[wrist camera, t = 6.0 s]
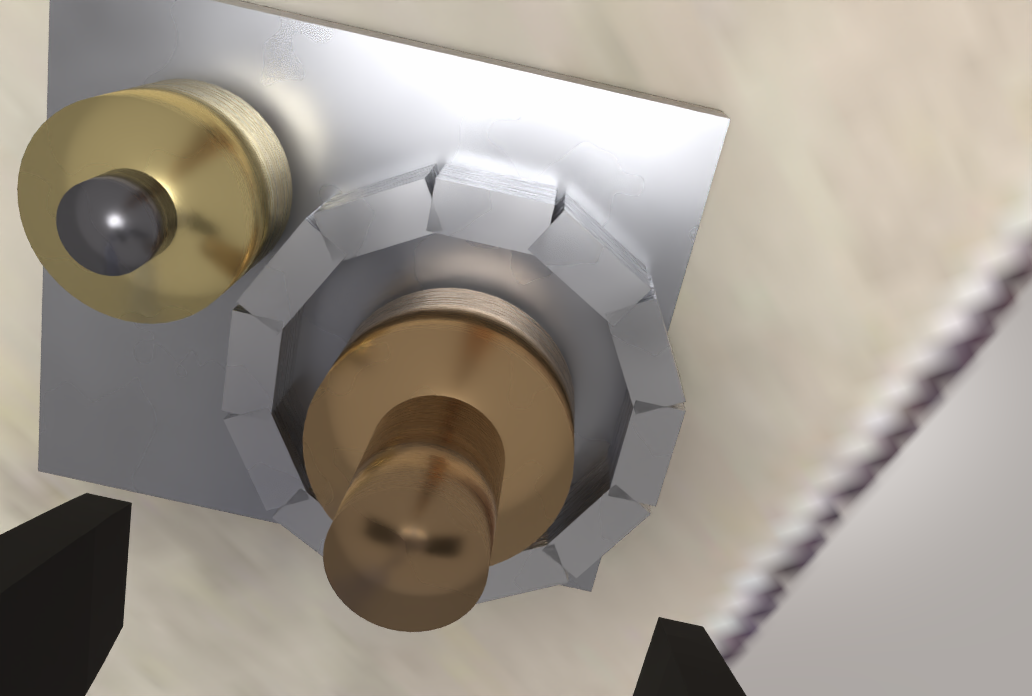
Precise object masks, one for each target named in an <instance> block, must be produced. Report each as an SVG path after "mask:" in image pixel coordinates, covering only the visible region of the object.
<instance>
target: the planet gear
mask: <svg viewBox="0 0 1032 696" xmlns="http://www.w3.org/2000/svg"><path fill="white" fill-rule="evenodd" d="M574 424H575V401H574V388H573V384H572V379H571V375H570V372H569V369H568V366H567V363H566V361H565V359H564V357H563V355H562V353H561V351H560V349H559V348H558V346H557V345H556V343H555V342H554V340H553V339H552V338H551V336H550V335H549V334H548V333H547V332H546V331H545V329H544V328H543V327H542V326H541V325H540V324H539V323H538V322H537V321H535V320H534V319H533V318H532V317H531V316H529V315H528V314H527V313H526V312H524V311H522V310H521V309H519V308H518V307H516V306H515V305H513V304H511V303H509V302H507V301H505V300H503V299H501V298H498V297H496V296H493V295H490V294H487V293H484V292H480V291H475V290H470V289H462V288H433V289H427V290H422V291H417V292H414V293H411V294H407V295H404V296H401V297H399V298H397V299H395V300H393V301H391V302H389V303H387V304H386V305H384V306H382V307H381V308H379V309H378V310H376V311H375V312H374V313H373V314H371V315H370V316H369V317H368V318H367V319H366V320H365V321H363V323H362V324H361V325H360V326H359V327H358V328H357V330H356V331H355V332H354V333H353V335H352V336H351V338H350V339H349V341H348V343H347V344H346V346H345V347H344V349H343V350H342V352H341V353H340V355H339V357H338V358H337V360H336V361H335V363H334V364H333V366H332V367H331V369H330V370H329V372H328V374H327V375H326V377H325V378H324V380H323V381H322V383H321V384H320V386H319V388H318V389H317V391H316V392H315V394H314V397H313V399H312V401H311V403H310V406H309V408H308V412H307V416H306V419H305V423H304V431H303V457H304V462H305V468H306V472H307V475H308V478H309V482H310V485H311V487H312V489H313V491H314V493H315V495H316V497H317V500H318V501H319V503H320V504H321V506H322V507H323V509H324V511H325V512H326V514H327V515H328V516H329V517H330V518H331V520H332V521H333V522H332V524H331V526H330V528H329V530H328V533H327V535H326V539H325V542H324V549H323V562H324V567H325V572H326V575H327V578H328V580H329V582H330V584H331V586H332V588H333V590H334V591H335V593H336V594H337V596H338V597H339V598H340V599H341V600H342V602H343V603H344V604H345V605H346V606H347V607H348V608H350V609H351V610H352V611H353V612H355V613H356V614H357V615H359V616H360V617H362V618H364V619H365V620H367V621H369V622H371V623H374V624H376V625H378V626H381V627H384V628H388V629H392V630H397V631H406V632H421V631H429V630H433V629H437V628H441V627H444V626H446V625H449V624H451V623H453V622H455V621H456V620H458V619H460V618H461V617H462V616H464V615H465V614H466V613H468V612H469V611H470V610H471V609H472V608H473V607H474V605H475V604H476V603H477V601H478V600H479V598H480V597H481V595H482V593H483V591H484V588H485V586H486V582H487V578H488V572H489V566H493V565H495V564H498V563H500V562H503V561H505V560H508V559H509V558H511V557H513V556H515V555H517V554H519V553H520V552H522V551H523V550H525V549H526V548H527V547H529V546H530V545H532V544H533V543H534V542H535V541H536V540H537V539H538V538H539V537H541V536H542V535H543V534H544V533H545V532H546V530H547V529H548V528H549V527H550V525H551V524H552V523H553V522H554V520H555V519H556V517H557V516H558V514H559V512H560V510H561V509H562V507H563V505H564V503H565V500H566V498H567V495H568V493H569V489H570V485H571V481H572V477H573V466H574Z"/></svg>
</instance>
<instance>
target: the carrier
mask: <svg viewBox="0 0 1032 696" xmlns="http://www.w3.org/2000/svg"><path fill="white" fill-rule="evenodd" d="M729 122H730V118H729V117H728V116H727V115H725V114H724V113H723V112H722V111H720V110H716V109H711V108H707V107H703V106H698V105H694V104H690V103H685V102H681V101H676V100H672V99H668V98H663V97H659V96H655V95H650V94H646V93H641V92H637V91H633V90H628V89H624V88H620V87H615V86H611V85H607V84H602V83H598V82H593V81H589V80H585V79H580V78H576V77H572V76H567V75H563V74H558V73H554V72H550V71H545V70H541V69H537V68H532V67H528V66H524V65H519V64H515V63H510V62H506V61H502V60H497V59H493V58H489V57H484V56H480V55H475V54H471V53H467V52H462V51H458V50H454V49H449V48H445V47H441V46H436V45H432V44H427V43H423V42H419V41H414V40H410V39H406V38H401V37H397V36H392V35H388V34H384V33H379V32H375V31H371V30H366V29H362V28H357V27H353V26H349V25H344V24H340V23H336V22H331V21H327V20H323V19H318V18H314V17H309V16H305V15H301V14H296V13H292V12H288V11H283V10H279V9H274V8H270V7H266V6H261V5H257V4H253V3H248V2H244V1H240V0H50V11H49V52H48V93H47V121H46V122H44V123H43V124H42V126H41V127H40V128H39V129H38V131H37V132H36V133H35V134H34V136H33V137H32V139H31V141H30V143H29V144H28V146H27V148H26V151H25V153H24V156H23V159H22V162H21V166H20V171H19V176H18V188H17V190H18V205H19V211H20V216H21V221H22V224H23V227H24V230H25V233H26V236H27V238H28V240H29V242H30V245H31V247H32V249H33V250H34V252H35V254H36V256H37V257H38V259H39V261H40V262H41V263H42V265H43V297H42V338H41V379H40V419H39V460H38V471H41V472H45V473H50V474H54V475H59V476H64V477H68V478H73V479H77V480H82V481H86V482H91V483H96V484H100V485H105V486H109V487H114V488H119V489H123V490H128V491H132V492H137V493H141V494H146V495H151V496H155V497H160V498H164V499H169V500H174V501H178V502H183V503H187V504H192V505H196V506H201V507H206V508H210V509H215V510H219V511H224V512H229V513H233V514H238V515H242V516H247V517H251V518H256V519H261V520H265V521H270V522H274V523H279V524H281V525H282V526H284V527H285V528H286V529H288V530H289V531H290V532H291V533H293V534H294V535H295V536H297V537H298V538H299V539H301V540H302V541H303V542H305V543H306V544H307V545H309V546H310V547H311V548H312V549H314V550H315V551H316V552H318V553H319V554H320V555H322V556H323V549H324V542H325V539H326V535H327V533H328V530H329V528H330V526H331V524H332V522H333V521H332V520H331V518H330V517H329V516H328V515H327V514H326V512H325V511H324V509H323V507H322V506H321V504H320V503H319V501H318V500H317V497H316V495H315V493H314V491H313V489H312V487H311V485H310V482H309V478H308V475H307V472H306V468H305V462H304V457H303V431H304V423H305V419H306V416H307V412H308V408H309V406H310V403H311V401H312V399H313V397H314V394H315V392H316V391H317V389H318V388H319V386H320V384H321V383H322V381H323V380H324V378H325V377H326V375H327V374H328V372H329V370H330V369H331V367H332V366H333V364H334V363H335V361H336V360H337V358H338V357H339V355H340V353H341V352H342V350H343V349H344V347H345V346H346V344H347V343H348V341H349V339H350V338H351V336H352V335H353V333H354V332H355V331H356V330H357V328H358V327H359V326H360V325H361V324H362V323H363V321H365V320H366V319H367V318H368V317H369V316H370V315H371V314H373V313H374V312H375V311H376V310H378V309H379V308H381V307H382V306H384V305H386V304H387V303H389V302H391V301H393V300H395V299H397V298H399V297H401V296H404V295H407V294H411V293H414V292H417V291H422V290H427V289H433V288H462V289H470V290H475V291H480V292H484V293H487V294H490V295H493V296H496V297H498V298H501V299H503V300H505V301H507V302H509V303H511V304H513V305H515V306H516V307H518V308H519V309H521V310H522V311H524V312H526V313H527V314H528V315H529V316H531V317H532V318H533V319H534V320H535V321H537V322H538V323H539V324H540V325H541V326H542V327H543V328H544V329H545V331H546V332H547V333H548V334H549V335H550V336H551V338H552V339H553V340H554V342H555V343H556V345H557V346H558V348H559V349H560V351H561V353H562V355H563V357H564V359H565V361H566V363H567V366H568V369H569V372H570V375H571V379H572V384H573V388H574V401H575V424H574V466H573V477H572V481H571V485H570V489H569V493H568V495H567V498H566V500H565V503H564V505H563V507H562V509H561V510H560V512H559V514H558V516H557V517H556V519H555V520H554V522H553V523H552V524H551V525H550V527H549V528H548V529H547V530H546V532H545V533H544V534H543V535H542V536H541V537H539V538H538V539H537V540H536V541H535V542H534V543H533V544H532V545H530V546H529V547H527V548H526V549H525V550H523V551H522V552H520V553H519V554H517V555H515V556H513V557H511V558H509V559H508V560H505V561H503V562H500V563H498V564H495V565H493V566H489V572H488V578H487V582H486V586H485V588H484V591H483V593H482V595H481V597H480V598H479V600H478V601H477V603H482V602H486V601H490V600H495V599H499V598H503V597H508V596H512V595H516V594H521V593H525V592H529V591H533V590H538V589H542V588H546V587H551V586H555V585H563V586H568V587H572V588H577V589H582V590H586V591H591V590H592V587H593V583H594V580H595V577H596V573H597V570H598V566H599V563H600V560H601V557H602V556H603V555H604V554H605V553H606V552H607V551H608V550H610V549H611V548H612V547H613V546H614V545H615V544H617V543H618V542H619V541H620V540H621V539H622V538H623V537H625V536H626V535H627V534H628V533H629V532H630V531H631V530H633V529H634V528H635V527H636V526H637V525H638V524H640V523H641V522H642V521H643V520H644V519H645V518H646V517H648V516H649V515H650V514H651V513H650V505H652V506H656V504H657V501H658V497H659V494H660V491H661V488H662V485H663V481H664V478H665V475H666V472H667V469H668V465H669V462H670V459H671V456H672V453H673V450H674V446H675V443H676V440H677V437H678V434H679V430H680V427H681V424H682V421H683V418H684V414H685V407H684V403H683V402H686V401H685V397H684V393H683V389H682V385H681V381H680V377H679V373H678V369H677V366H676V362H675V359H674V355H673V352H672V348H671V345H670V341H669V337H668V334H667V332H668V329H669V326H670V322H671V319H672V316H673V312H674V309H675V305H676V302H677V299H678V295H679V292H680V288H681V285H682V282H683V278H684V275H685V271H686V268H687V265H688V261H689V258H690V254H691V251H692V248H693V244H694V241H695V238H696V234H697V231H698V227H699V224H700V221H701V217H702V214H703V210H704V207H705V204H706V200H707V197H708V193H709V190H710V187H711V183H712V180H713V176H714V173H715V170H716V166H717V163H718V159H719V156H720V153H721V149H722V146H723V143H724V139H725V136H726V132H727V129H728V126H729ZM477 603H476V604H477Z"/></svg>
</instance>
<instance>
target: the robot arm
mask: <svg viewBox="0 0 1032 696" xmlns="http://www.w3.org/2000/svg"><path fill="white" fill-rule="evenodd" d="M131 505H132V503H130V502H126V501H121V500H116V499H112V498H107V497H103V496H98V495H93V494H89V493H86V494H83V495H81V496H79V497H77V498H74V499H72V500H70V501H68V502H66V503H64V504H62V505H60V506H57V507H55V508H53V509H51V510H49V511H47V512H45V513H43V514H41V515H39V516H37V517H35V518H33V519H31V520H29V521H27V522H25V523H23V524H21V525H19V526H17V527H15V528H13V529H11V530H9V531H7V532H5V533H3V534H1V535H0V696H85V695H86V693H87V692H88V690H89V688H90V686H91V684H92V683H93V681H94V679H95V677H96V676H97V674H98V672H99V670H100V668H101V667H102V665H103V663H104V661H105V659H106V657H107V656H108V654H109V652H110V650H111V648H112V646H113V644H114V642H115V640H116V639H117V637H118V635H119V633H120V631H121V629H122V627H123V619H124V605H125V590H126V576H127V562H128V548H129V533H130V519H131ZM633 696H746V695H745V693H744V691H743V690H742V688H741V686H740V685H739V683H738V682H737V680H736V679H735V677H734V675H733V674H732V672H731V670H730V669H729V667H728V666H727V664H726V662H725V661H724V659H723V658H722V656H721V654H720V653H719V651H718V650H717V648H716V646H715V645H714V643H713V642H712V640H711V638H710V637H709V635H708V634H707V632H706V631H705V629H704V627H702V626H697V625H693V624H688V623H684V622H679V621H674V620H670V619H665V618H661V617H659V618H658V621H657V624H656V627H655V630H654V633H653V636H652V639H651V642H650V645H649V648H648V651H647V654H646V657H645V660H644V663H643V667H642V670H641V673H640V676H639V679H638V682H637V685H636V688H635V691H634V694H633Z"/></svg>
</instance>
